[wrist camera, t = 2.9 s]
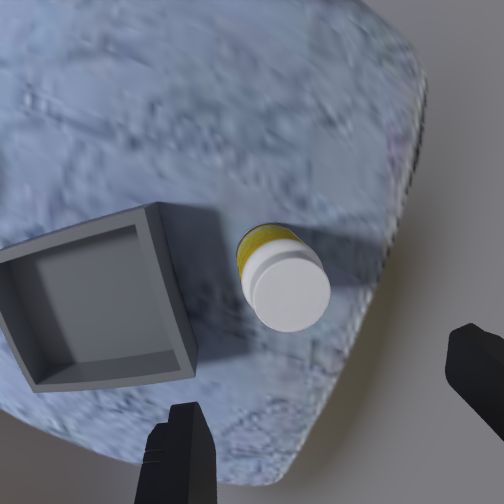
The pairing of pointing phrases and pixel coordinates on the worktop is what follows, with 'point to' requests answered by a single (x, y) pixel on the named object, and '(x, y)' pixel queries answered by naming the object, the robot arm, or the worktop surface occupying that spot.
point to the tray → (96, 306)
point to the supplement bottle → (282, 278)
